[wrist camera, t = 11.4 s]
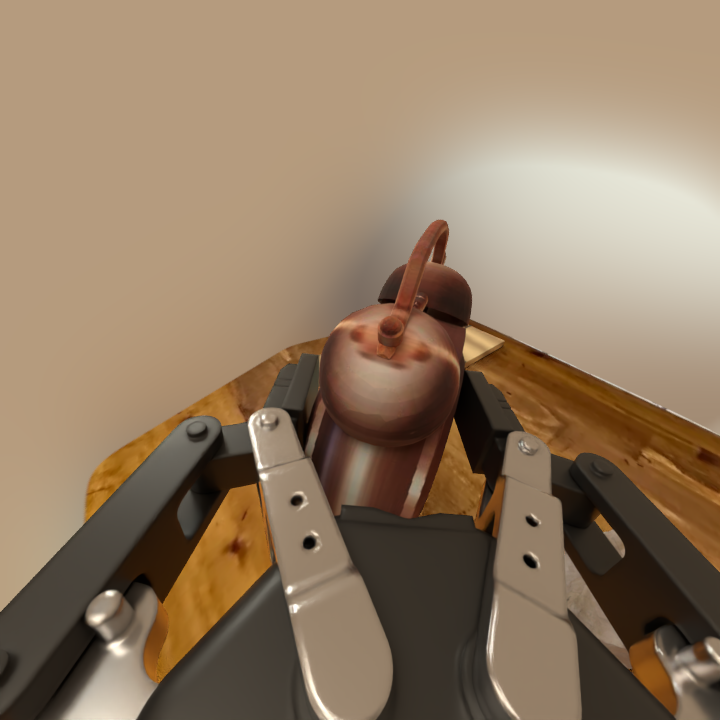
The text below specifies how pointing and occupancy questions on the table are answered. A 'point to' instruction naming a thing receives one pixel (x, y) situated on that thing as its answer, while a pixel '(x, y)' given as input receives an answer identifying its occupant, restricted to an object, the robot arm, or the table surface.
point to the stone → (594, 605)
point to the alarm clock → (392, 386)
